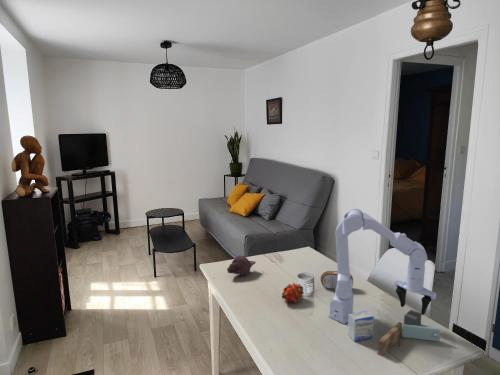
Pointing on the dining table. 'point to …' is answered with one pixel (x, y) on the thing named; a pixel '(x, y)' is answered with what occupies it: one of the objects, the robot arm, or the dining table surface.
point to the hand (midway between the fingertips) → (412, 309)
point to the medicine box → (360, 325)
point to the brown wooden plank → (389, 339)
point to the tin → (330, 279)
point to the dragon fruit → (292, 293)
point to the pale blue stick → (421, 332)
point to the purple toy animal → (240, 265)
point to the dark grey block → (412, 318)
